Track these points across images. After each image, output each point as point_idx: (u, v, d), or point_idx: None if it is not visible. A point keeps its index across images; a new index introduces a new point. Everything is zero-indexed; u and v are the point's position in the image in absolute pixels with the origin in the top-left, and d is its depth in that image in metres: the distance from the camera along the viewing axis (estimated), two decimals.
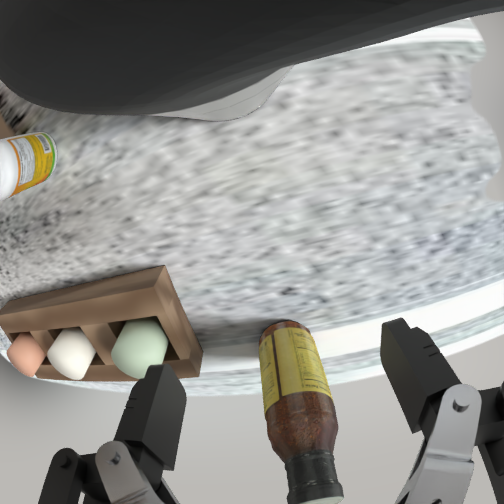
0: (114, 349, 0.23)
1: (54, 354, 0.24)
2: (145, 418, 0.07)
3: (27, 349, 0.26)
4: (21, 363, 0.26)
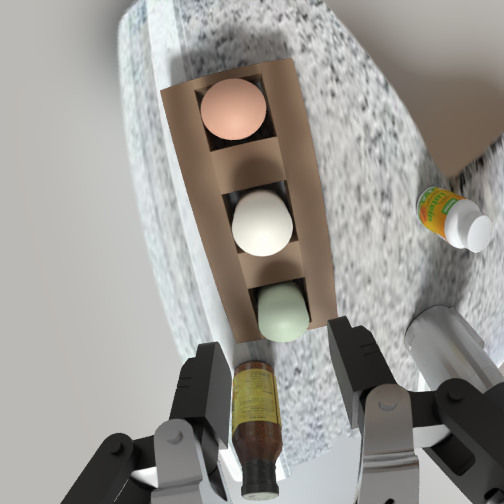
0: (301, 308, 0.27)
1: (280, 218, 0.23)
2: (205, 393, 0.08)
3: None
4: (234, 113, 0.20)
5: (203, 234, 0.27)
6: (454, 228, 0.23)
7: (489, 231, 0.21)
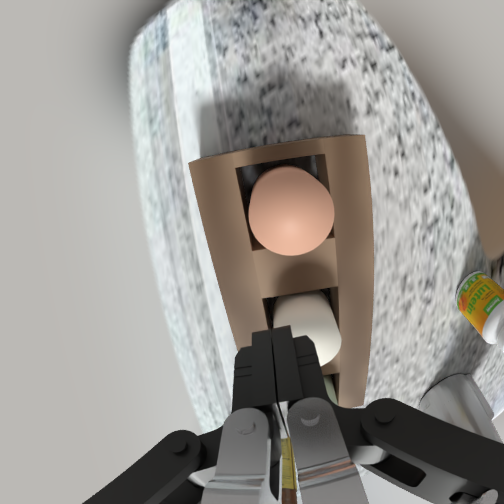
0: None
1: (329, 337, 0.20)
2: (271, 380, 0.08)
3: None
4: (293, 221, 0.16)
5: (237, 335, 0.23)
6: (493, 330, 0.19)
7: None
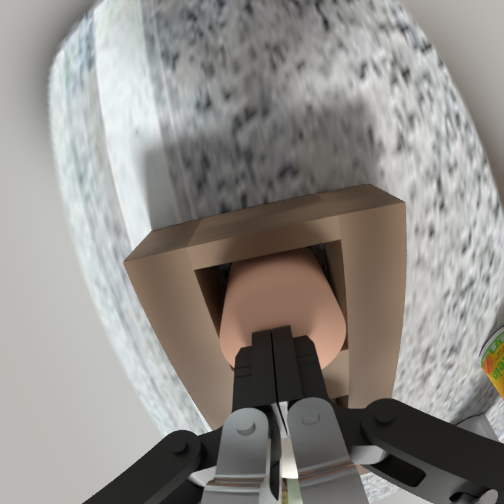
0: None
1: None
2: (271, 380, 0.08)
3: None
4: None
5: None
6: None
7: None
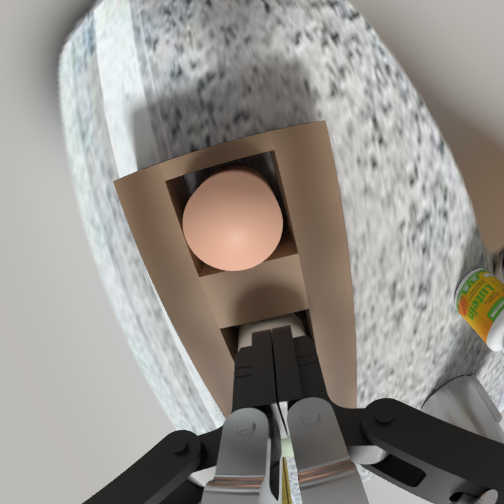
0: None
1: None
2: (271, 380, 0.08)
3: None
4: (234, 232, 0.14)
5: (199, 367, 0.20)
6: (499, 337, 0.16)
7: None
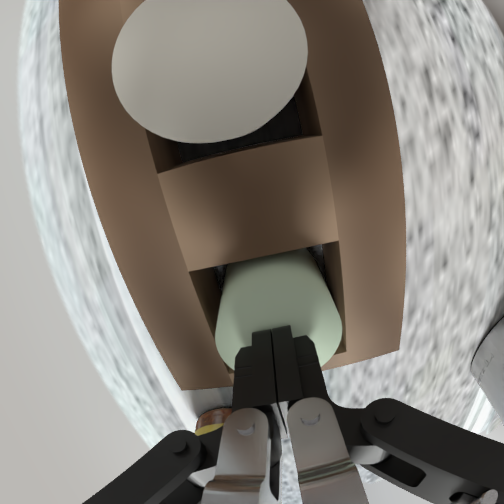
0: (325, 303, 0.10)
1: (264, 17, 0.05)
2: (271, 380, 0.08)
3: None
4: None
5: (81, 130, 0.09)
6: None
7: None
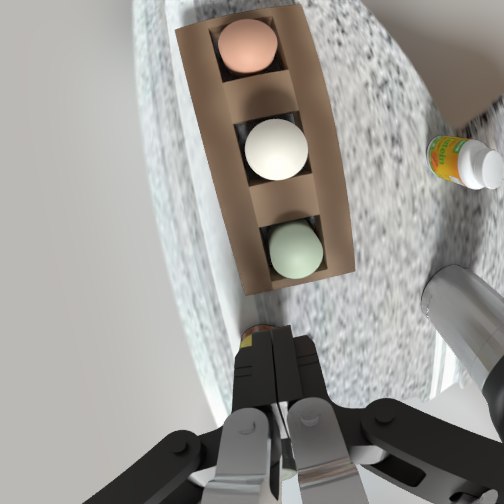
0: (314, 237, 0.26)
1: (295, 139, 0.21)
2: (271, 380, 0.08)
3: (267, 64, 0.21)
4: (248, 46, 0.19)
5: (212, 165, 0.25)
6: (468, 165, 0.21)
7: (502, 168, 0.19)
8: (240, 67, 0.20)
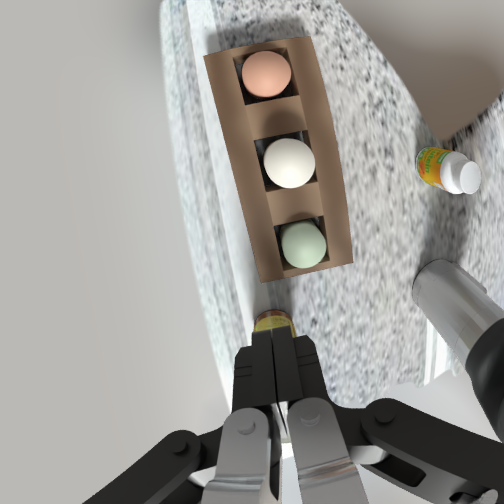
0: (319, 234, 0.32)
1: (305, 155, 0.27)
2: (271, 380, 0.08)
3: (282, 90, 0.27)
4: (267, 75, 0.25)
5: (236, 174, 0.31)
6: (448, 173, 0.27)
7: (479, 176, 0.24)
8: (260, 93, 0.26)
